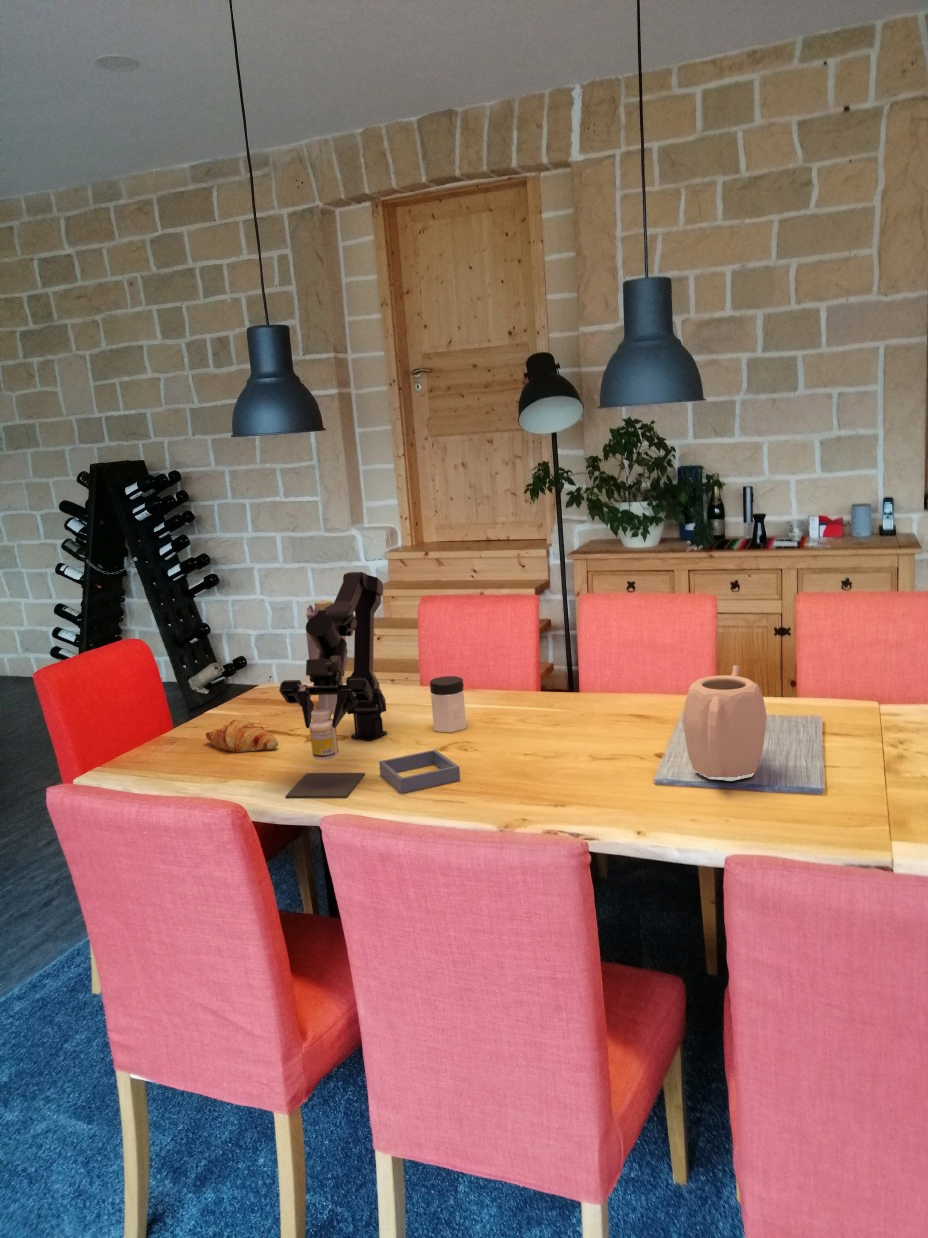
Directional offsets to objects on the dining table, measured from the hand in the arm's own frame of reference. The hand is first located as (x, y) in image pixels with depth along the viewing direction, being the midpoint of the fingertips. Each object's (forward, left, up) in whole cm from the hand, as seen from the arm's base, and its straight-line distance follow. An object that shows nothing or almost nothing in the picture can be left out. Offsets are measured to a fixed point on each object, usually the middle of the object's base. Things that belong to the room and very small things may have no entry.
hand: (320, 727), depth 191 cm
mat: (-1, +1, -13) cm, 13 cm away
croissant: (-40, +10, -14) cm, 43 cm away
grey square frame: (+13, +14, -13) cm, 23 cm away
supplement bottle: (-1, +1, -7) cm, 7 cm away
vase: (-42, +43, -13) cm, 62 cm away
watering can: (+67, +46, -13) cm, 83 cm away
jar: (-3, +44, -13) cm, 46 cm away
